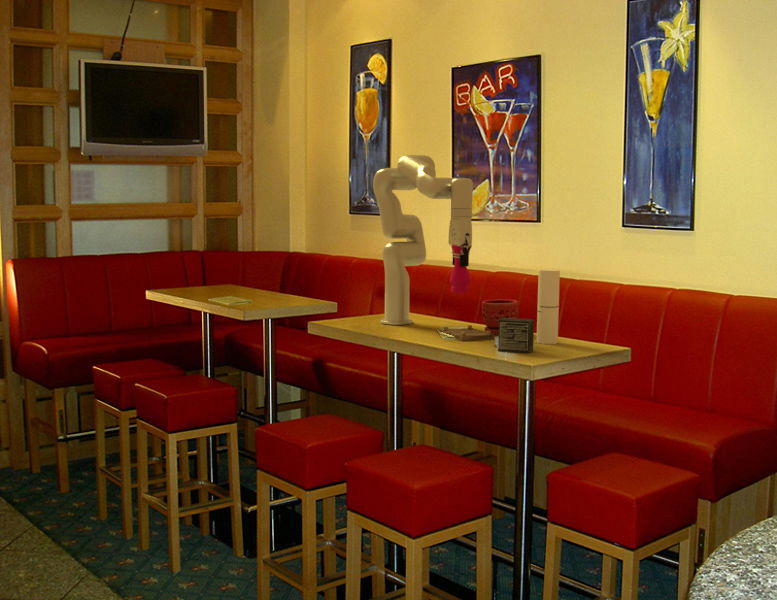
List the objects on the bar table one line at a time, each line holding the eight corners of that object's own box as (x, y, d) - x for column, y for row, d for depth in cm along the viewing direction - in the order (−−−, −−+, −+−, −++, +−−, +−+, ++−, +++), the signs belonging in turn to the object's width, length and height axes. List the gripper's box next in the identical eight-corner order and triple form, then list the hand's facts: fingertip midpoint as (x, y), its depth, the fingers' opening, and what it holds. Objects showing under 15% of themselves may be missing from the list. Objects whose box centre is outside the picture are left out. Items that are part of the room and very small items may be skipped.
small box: (534, 350, 306) (534, 318, 305) (529, 353, 300) (530, 321, 299) (502, 348, 310) (503, 316, 308) (497, 351, 304) (498, 319, 302)
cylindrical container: (550, 344, 317) (552, 271, 314) (532, 342, 322) (534, 269, 319) (561, 342, 323) (563, 269, 320) (543, 340, 327) (545, 268, 324)
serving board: (439, 333, 339) (439, 326, 338) (471, 332, 344) (471, 324, 344) (461, 341, 323) (461, 333, 323) (494, 339, 328) (494, 331, 328)
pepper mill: (468, 293, 327) (469, 235, 324) (448, 292, 328) (449, 235, 326) (471, 291, 334) (472, 234, 331) (451, 290, 335) (452, 234, 333)
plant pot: (507, 329, 350) (508, 298, 349) (523, 335, 338) (524, 302, 337) (475, 331, 346) (476, 299, 345) (490, 336, 334) (491, 303, 333)
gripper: (441, 213, 334) (440, 264, 336) (462, 214, 319) (461, 267, 321) (460, 213, 337) (459, 263, 339) (482, 214, 321) (481, 267, 324)
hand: (460, 265), depth 330 cm, fingers closed on pepper mill, 5 cm apart
